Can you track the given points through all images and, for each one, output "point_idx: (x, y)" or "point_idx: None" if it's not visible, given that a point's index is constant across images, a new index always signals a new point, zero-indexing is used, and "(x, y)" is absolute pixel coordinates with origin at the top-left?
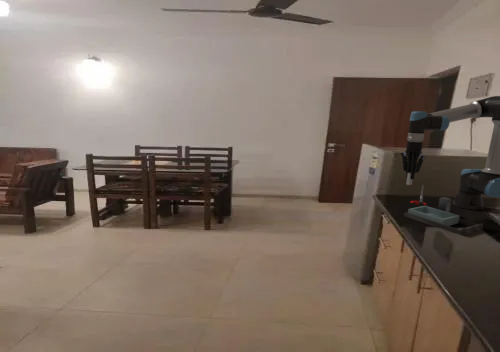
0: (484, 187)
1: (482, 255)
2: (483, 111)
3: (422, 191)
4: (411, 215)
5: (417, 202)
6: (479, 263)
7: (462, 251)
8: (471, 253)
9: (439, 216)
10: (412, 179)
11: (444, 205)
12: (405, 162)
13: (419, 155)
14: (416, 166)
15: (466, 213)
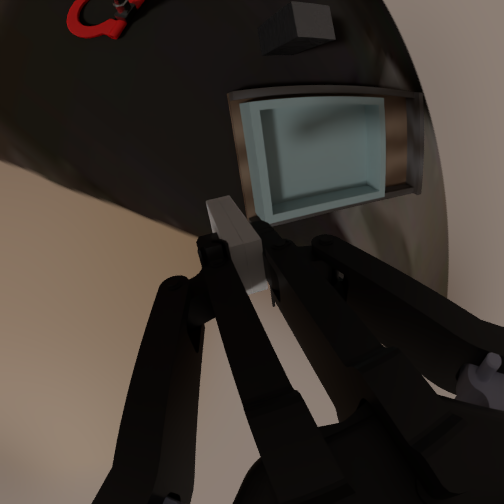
0: None
1: (437, 228)
2: None
3: None
4: (283, 222)
5: (86, 2)
6: (437, 257)
7: (420, 248)
8: (428, 239)
9: (316, 107)
10: (240, 212)
11: (310, 45)
12: (191, 399)
13: (473, 415)
14: (367, 324)
15: None
